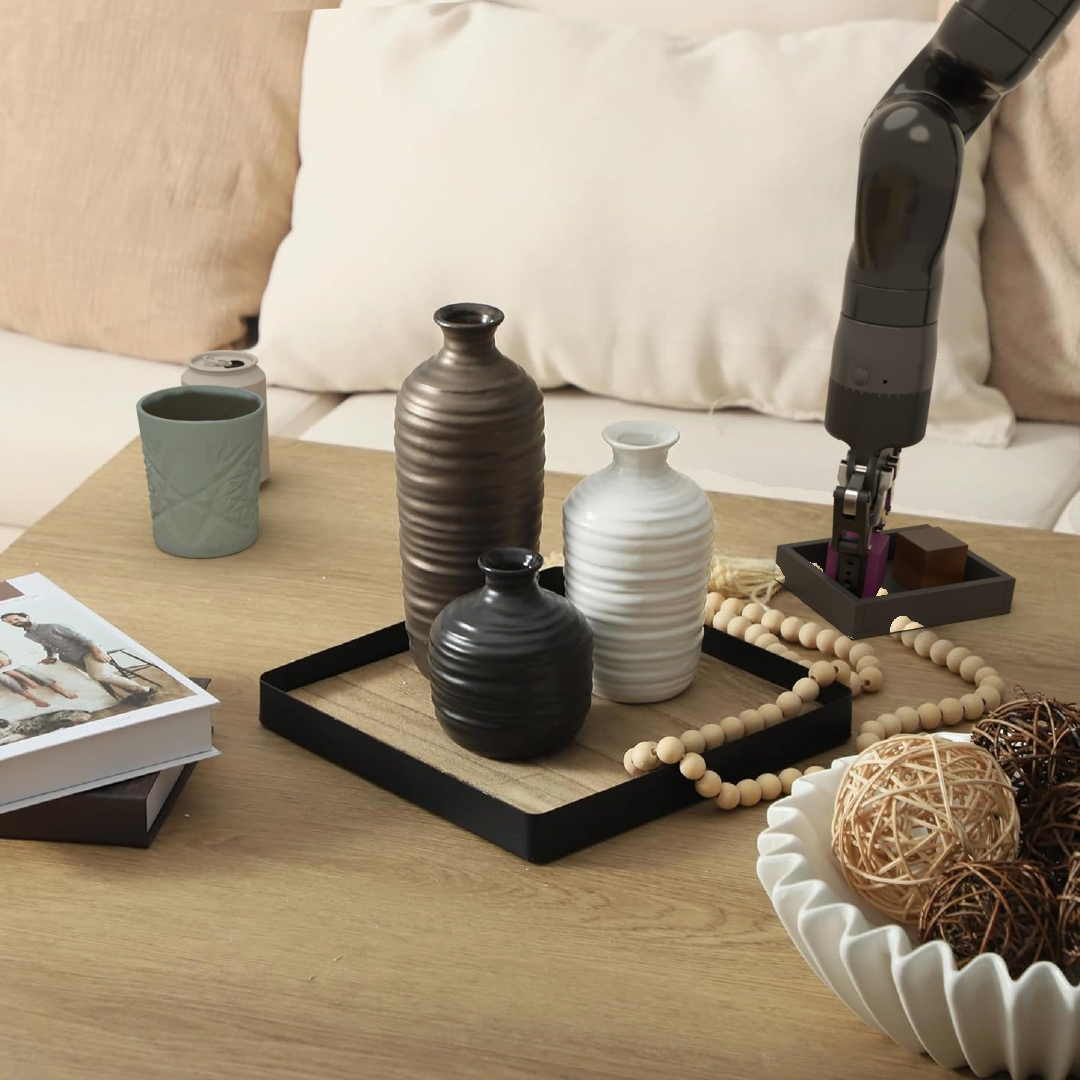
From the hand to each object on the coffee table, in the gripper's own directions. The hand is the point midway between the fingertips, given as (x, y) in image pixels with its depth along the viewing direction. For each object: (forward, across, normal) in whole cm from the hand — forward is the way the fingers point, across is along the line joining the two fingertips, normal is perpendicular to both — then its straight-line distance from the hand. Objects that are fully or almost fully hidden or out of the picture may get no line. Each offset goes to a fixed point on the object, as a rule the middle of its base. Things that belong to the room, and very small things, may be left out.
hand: (854, 582), depth 116 cm
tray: (+2, +2, -2) cm, 4 cm away
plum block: (0, 0, 0) cm, 0 cm away
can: (+2, -1, +58) cm, 58 cm away
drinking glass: (+2, -12, +52) cm, 53 cm away
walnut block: (+1, +5, -5) cm, 7 cm away
